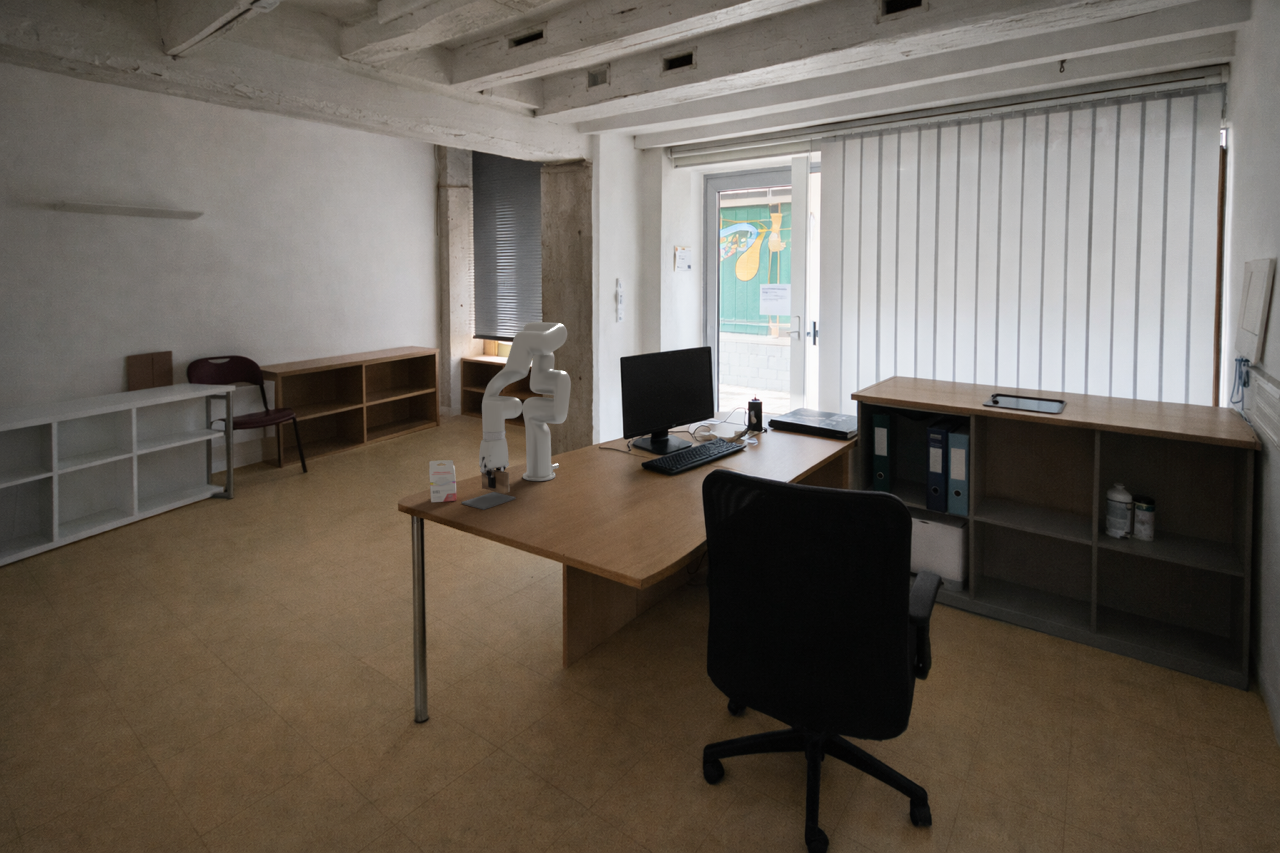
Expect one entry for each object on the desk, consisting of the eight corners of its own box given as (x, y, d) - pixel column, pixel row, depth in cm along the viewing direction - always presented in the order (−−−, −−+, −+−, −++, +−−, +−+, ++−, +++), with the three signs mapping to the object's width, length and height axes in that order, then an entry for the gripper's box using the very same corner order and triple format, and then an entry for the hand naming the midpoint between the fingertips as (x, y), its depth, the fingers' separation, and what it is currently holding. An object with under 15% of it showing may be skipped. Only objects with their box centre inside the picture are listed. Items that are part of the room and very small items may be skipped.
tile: (487, 486, 251) (486, 467, 250) (509, 492, 245) (508, 472, 244) (482, 488, 249) (481, 469, 248) (504, 493, 243) (503, 474, 242)
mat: (493, 493, 254) (493, 491, 254) (515, 498, 248) (515, 497, 248) (461, 503, 242) (461, 502, 242) (483, 509, 236) (483, 508, 236)
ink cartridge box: (456, 497, 250) (455, 456, 247) (456, 501, 245) (454, 460, 242) (431, 498, 248) (429, 457, 245) (430, 502, 243) (428, 461, 240)
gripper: (503, 430, 252) (504, 480, 255) (468, 437, 239) (470, 490, 242) (518, 433, 248) (519, 483, 251) (484, 440, 235) (485, 493, 238)
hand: (495, 486), depth 247 cm, fingers closed on tile, 2 cm apart
